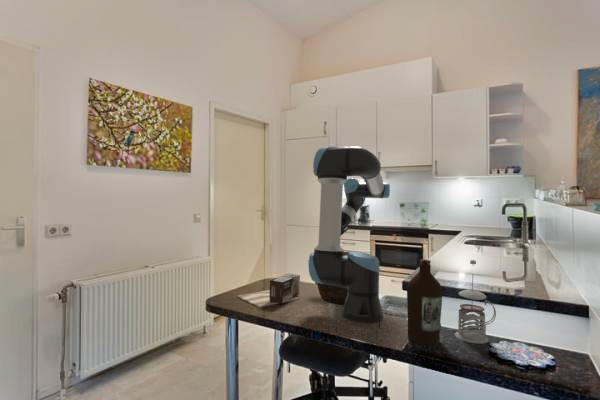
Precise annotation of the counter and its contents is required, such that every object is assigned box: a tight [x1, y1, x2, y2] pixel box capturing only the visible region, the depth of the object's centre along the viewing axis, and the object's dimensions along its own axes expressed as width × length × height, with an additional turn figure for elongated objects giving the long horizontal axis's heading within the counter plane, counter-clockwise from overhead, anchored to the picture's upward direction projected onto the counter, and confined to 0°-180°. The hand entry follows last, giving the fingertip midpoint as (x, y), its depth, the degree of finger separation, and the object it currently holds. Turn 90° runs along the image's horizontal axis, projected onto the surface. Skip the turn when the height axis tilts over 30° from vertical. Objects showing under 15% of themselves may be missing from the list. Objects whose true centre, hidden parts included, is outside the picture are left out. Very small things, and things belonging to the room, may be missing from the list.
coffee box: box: [269, 273, 301, 304], centre depth 148 cm, size 9×6×16 cm
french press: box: [454, 259, 497, 344], centre depth 111 cm, size 10×12×25 cm
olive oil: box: [406, 259, 443, 346], centre depth 109 cm, size 11×11×25 cm
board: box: [236, 289, 300, 308], centre depth 149 cm, size 18×20×1 cm
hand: (320, 251), depth 165 cm, fingers closed
